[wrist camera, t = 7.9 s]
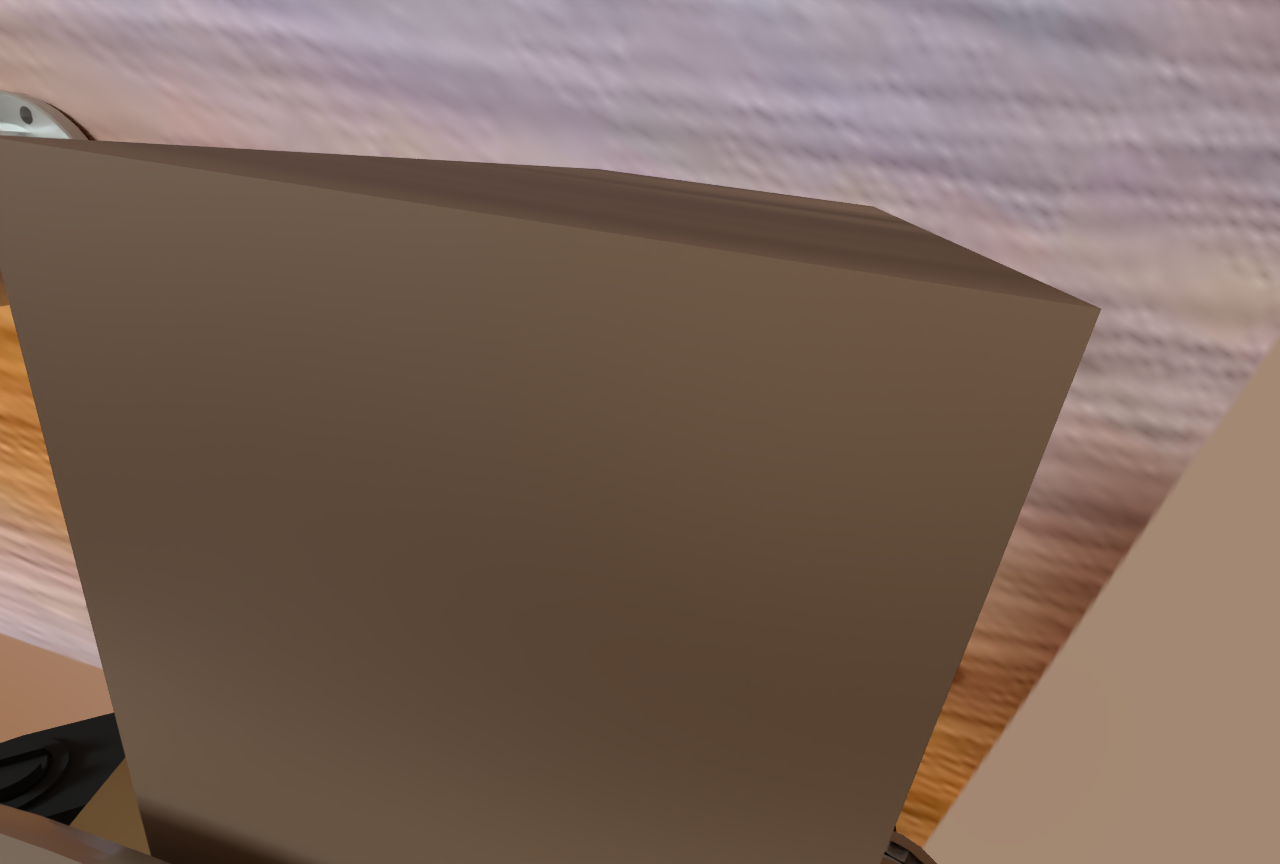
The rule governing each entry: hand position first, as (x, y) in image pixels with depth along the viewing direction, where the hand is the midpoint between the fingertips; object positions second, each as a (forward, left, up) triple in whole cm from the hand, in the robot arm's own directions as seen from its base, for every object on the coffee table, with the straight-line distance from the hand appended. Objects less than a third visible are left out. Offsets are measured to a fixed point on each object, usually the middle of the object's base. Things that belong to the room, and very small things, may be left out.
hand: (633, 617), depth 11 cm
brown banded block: (0, 0, -4) cm, 4 cm away
